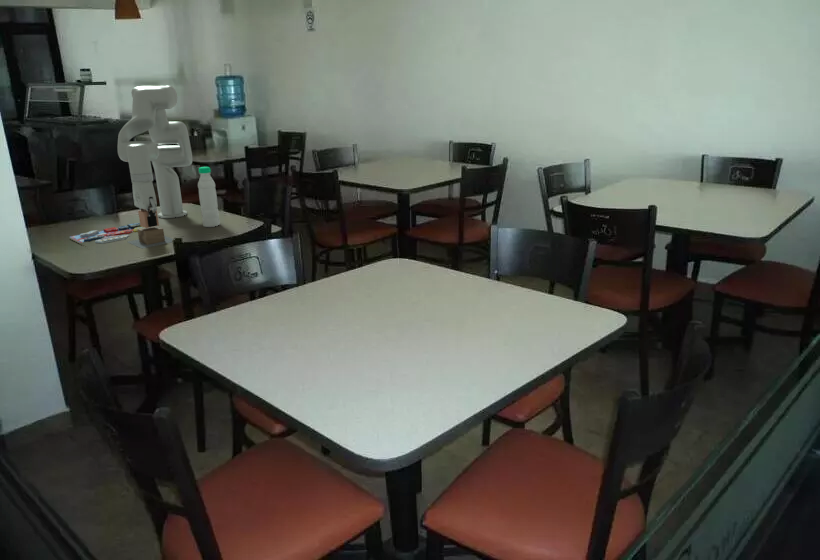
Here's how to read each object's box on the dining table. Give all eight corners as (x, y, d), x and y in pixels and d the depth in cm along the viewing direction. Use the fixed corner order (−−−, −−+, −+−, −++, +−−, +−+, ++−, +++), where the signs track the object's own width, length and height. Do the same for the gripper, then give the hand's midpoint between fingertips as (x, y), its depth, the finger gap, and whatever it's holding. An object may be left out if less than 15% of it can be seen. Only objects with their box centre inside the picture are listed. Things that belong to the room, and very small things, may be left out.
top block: (140, 225, 236) (138, 210, 234) (153, 223, 239) (150, 208, 237) (146, 228, 233) (143, 212, 231) (159, 225, 236) (156, 210, 234)
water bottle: (217, 227, 261) (209, 168, 253) (200, 227, 261) (192, 168, 253) (222, 223, 268) (215, 165, 260) (206, 223, 268) (198, 166, 260)
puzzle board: (90, 251, 232) (89, 244, 232) (69, 240, 248) (68, 234, 247) (168, 235, 253) (167, 229, 252) (144, 226, 268) (143, 220, 267)
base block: (139, 241, 238) (137, 229, 236) (157, 237, 243) (155, 225, 241) (147, 244, 233) (145, 232, 232) (165, 241, 238) (163, 228, 236)
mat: (127, 244, 238) (126, 241, 238) (162, 237, 248) (161, 234, 247) (142, 251, 229) (142, 248, 229) (178, 243, 238) (177, 240, 238)
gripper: (122, 176, 233) (130, 223, 239) (141, 181, 222) (149, 230, 228) (142, 173, 238) (149, 219, 244) (162, 178, 227) (169, 226, 233)
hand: (149, 224), depth 236 cm, fingers closed on top block, 4 cm apart
